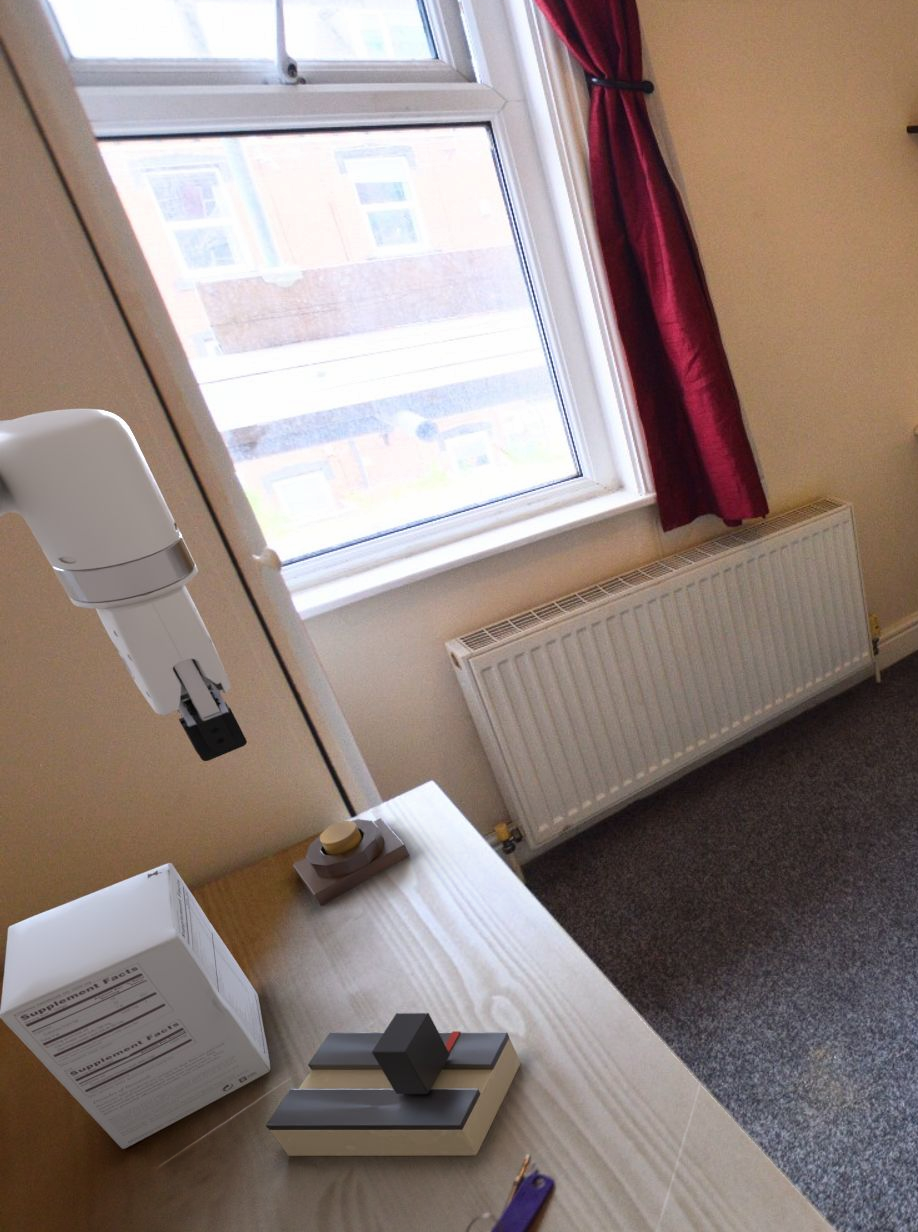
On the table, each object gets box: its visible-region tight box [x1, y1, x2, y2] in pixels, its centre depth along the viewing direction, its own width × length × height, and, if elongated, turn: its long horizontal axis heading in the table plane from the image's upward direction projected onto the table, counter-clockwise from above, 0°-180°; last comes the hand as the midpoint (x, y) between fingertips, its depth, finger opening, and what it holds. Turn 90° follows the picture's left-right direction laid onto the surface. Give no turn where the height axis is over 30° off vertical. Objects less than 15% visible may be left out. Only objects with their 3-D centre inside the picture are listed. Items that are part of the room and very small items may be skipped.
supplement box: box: [0, 862, 271, 1150], centre depth 66 cm, size 10×9×17 cm
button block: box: [292, 817, 411, 907], centre depth 87 cm, size 8×6×4 cm
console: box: [265, 1030, 521, 1157], centre depth 66 cm, size 14×7×4 cm, turn 90°
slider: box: [372, 1012, 450, 1094], centre depth 64 cm, size 2×3×6 cm
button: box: [319, 820, 362, 856], centre depth 86 cm, size 3×3×2 cm
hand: (223, 749), depth 76 cm, fingers closed
